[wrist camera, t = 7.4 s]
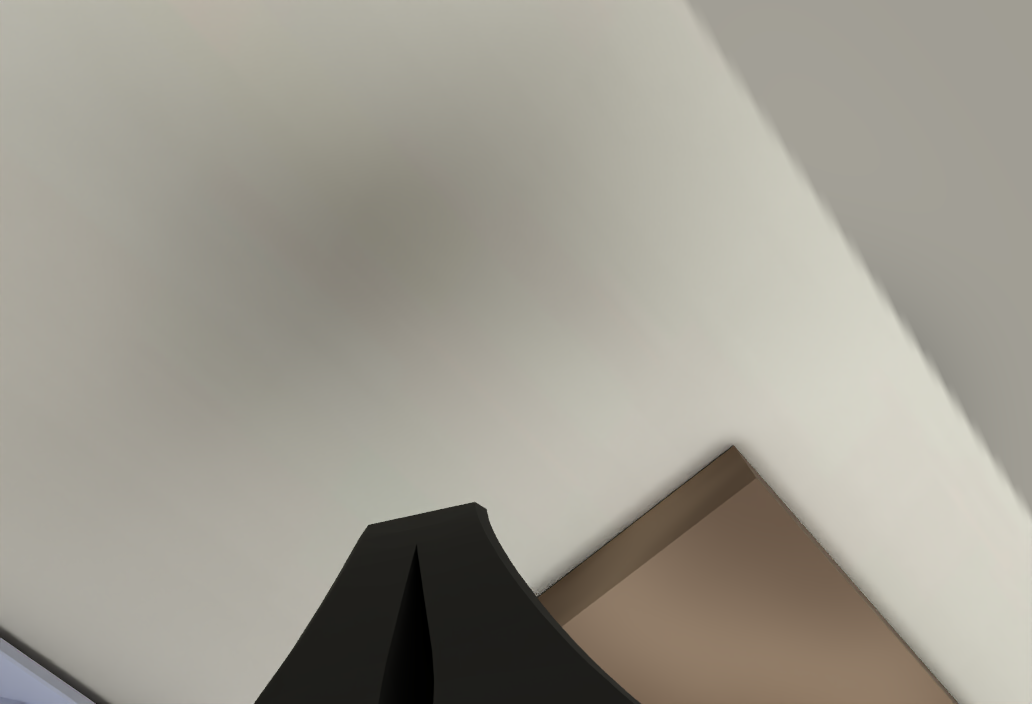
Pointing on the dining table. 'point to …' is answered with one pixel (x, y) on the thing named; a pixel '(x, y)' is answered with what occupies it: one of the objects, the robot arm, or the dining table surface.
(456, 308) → the dining table surface
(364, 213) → the dining table surface
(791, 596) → the walnut stand
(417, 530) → the robot arm
